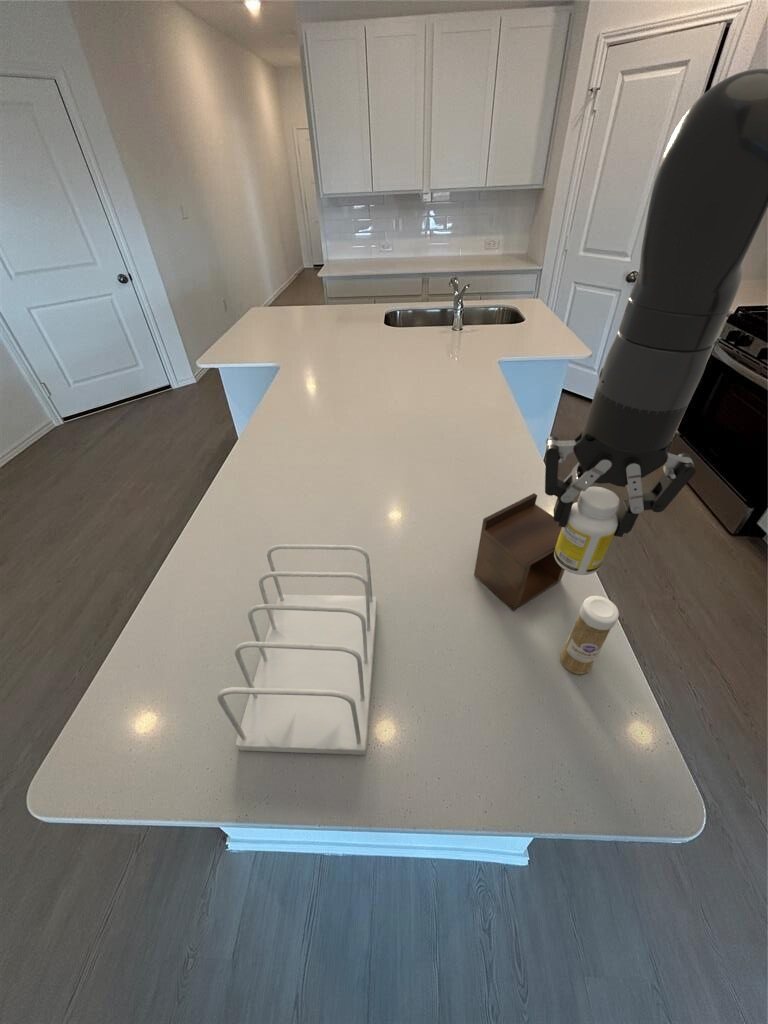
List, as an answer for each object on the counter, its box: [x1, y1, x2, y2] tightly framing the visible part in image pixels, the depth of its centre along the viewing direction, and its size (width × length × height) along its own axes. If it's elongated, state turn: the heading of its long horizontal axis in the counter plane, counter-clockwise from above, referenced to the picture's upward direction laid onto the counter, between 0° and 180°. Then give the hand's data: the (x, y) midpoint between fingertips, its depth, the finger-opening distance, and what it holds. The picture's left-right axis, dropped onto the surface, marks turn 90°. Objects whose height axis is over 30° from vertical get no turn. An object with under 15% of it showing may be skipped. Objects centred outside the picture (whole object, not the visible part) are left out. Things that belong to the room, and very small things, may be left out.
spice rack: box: [473, 493, 566, 612], centre depth 76 cm, size 10×12×14 cm
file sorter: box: [217, 543, 378, 756], centre depth 63 cm, size 25×17×16 cm
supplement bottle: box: [554, 486, 621, 576], centre depth 50 cm, size 5×5×10 cm
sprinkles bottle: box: [559, 595, 620, 675], centre depth 63 cm, size 5×5×14 cm
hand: (588, 526), depth 50 cm, fingers closed on supplement bottle, 5 cm apart
